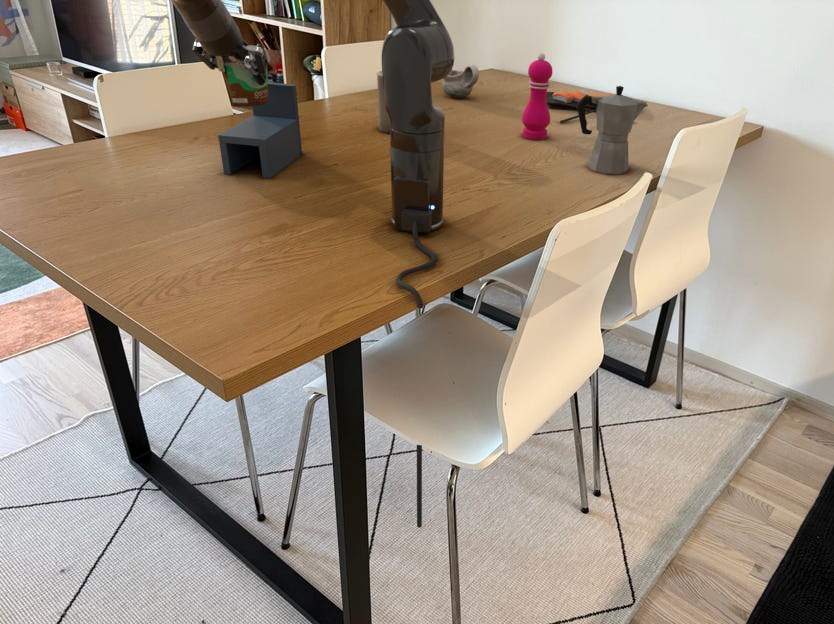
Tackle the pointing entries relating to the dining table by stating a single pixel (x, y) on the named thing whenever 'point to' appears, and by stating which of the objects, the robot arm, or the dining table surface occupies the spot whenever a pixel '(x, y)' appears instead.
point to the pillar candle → (382, 106)
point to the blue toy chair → (265, 134)
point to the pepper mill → (537, 100)
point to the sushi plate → (569, 101)
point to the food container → (246, 86)
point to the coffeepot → (610, 130)
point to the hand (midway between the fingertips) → (248, 80)
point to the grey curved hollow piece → (460, 81)
